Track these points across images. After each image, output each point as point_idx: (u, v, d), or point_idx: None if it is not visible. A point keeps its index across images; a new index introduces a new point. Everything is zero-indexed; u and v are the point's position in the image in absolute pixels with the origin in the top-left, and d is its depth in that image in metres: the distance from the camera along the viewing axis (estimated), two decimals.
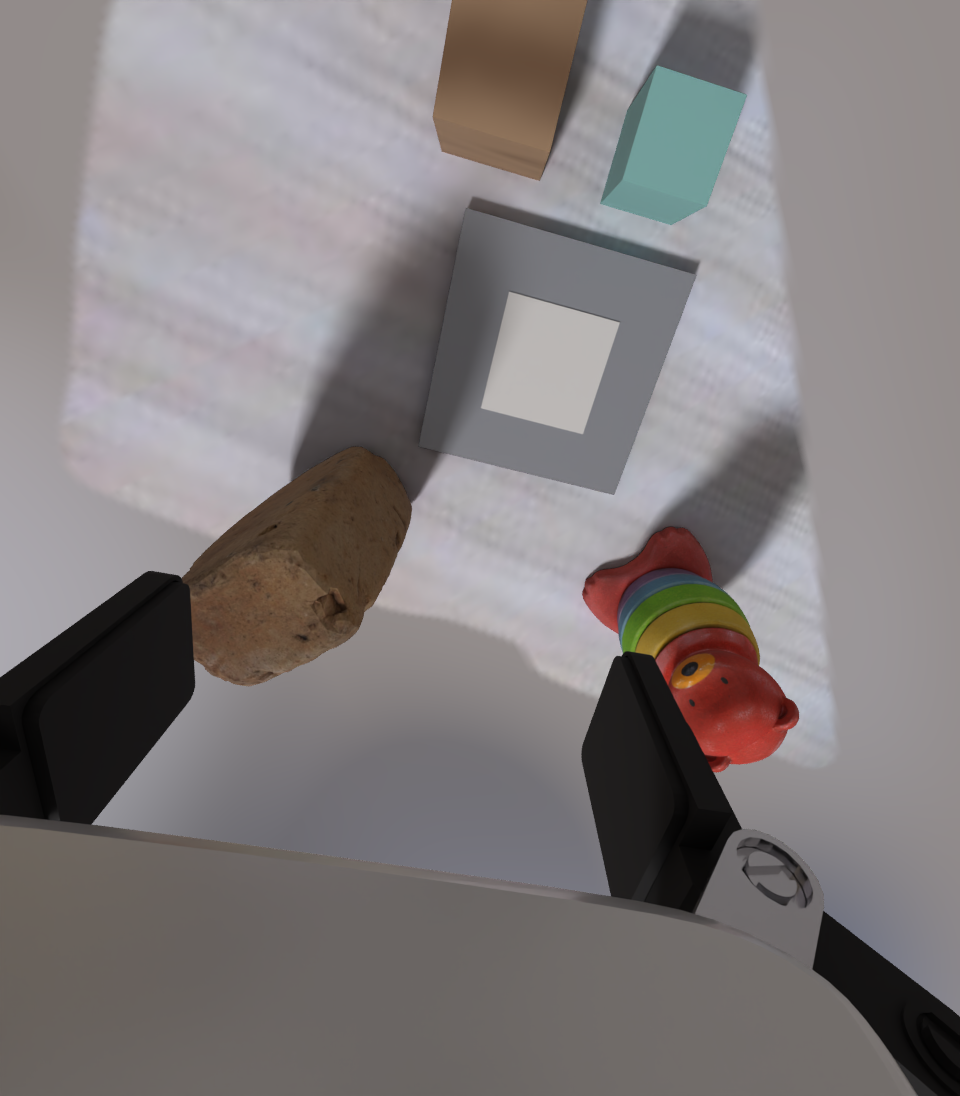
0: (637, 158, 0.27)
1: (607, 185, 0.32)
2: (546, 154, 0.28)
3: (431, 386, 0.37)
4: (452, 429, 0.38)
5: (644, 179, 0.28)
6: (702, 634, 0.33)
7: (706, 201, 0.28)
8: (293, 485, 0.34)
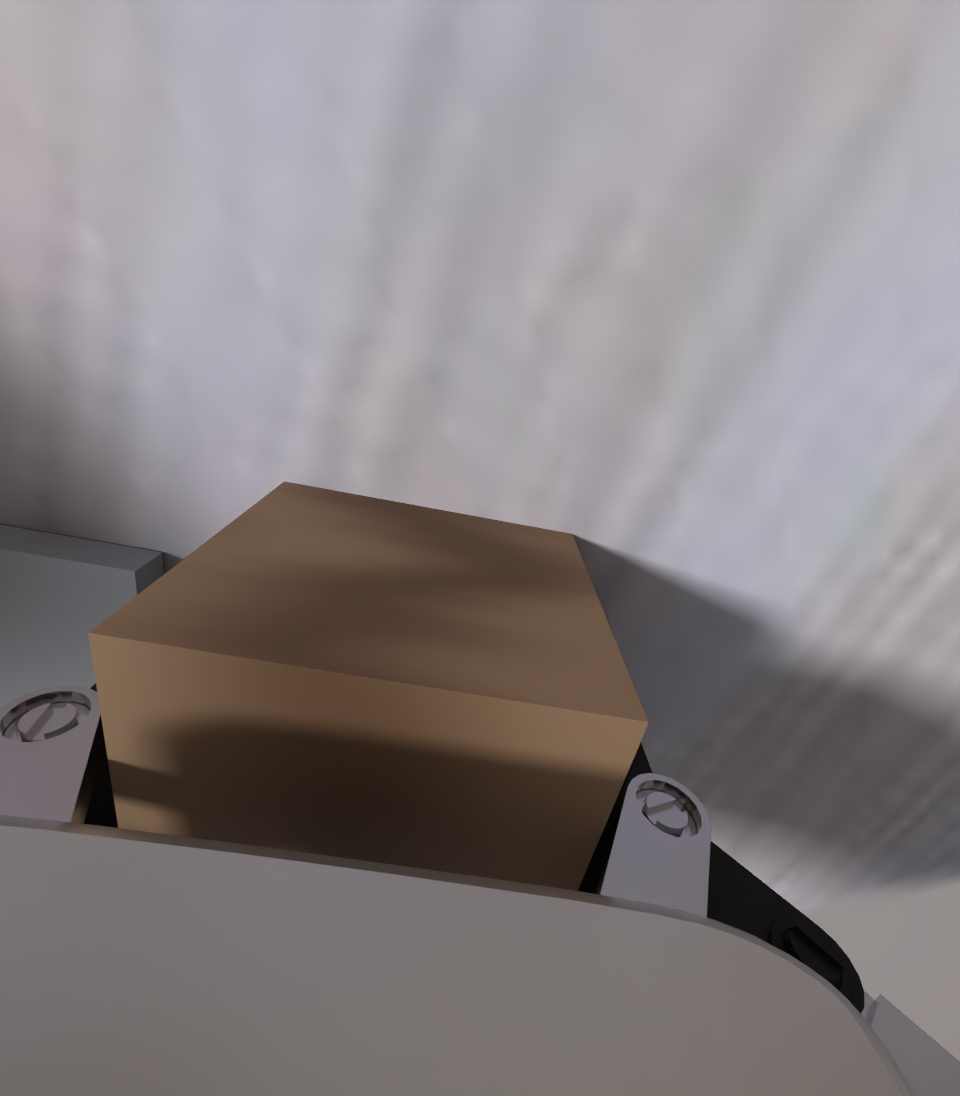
0: None
1: None
2: None
3: None
4: None
5: None
6: None
7: None
8: None
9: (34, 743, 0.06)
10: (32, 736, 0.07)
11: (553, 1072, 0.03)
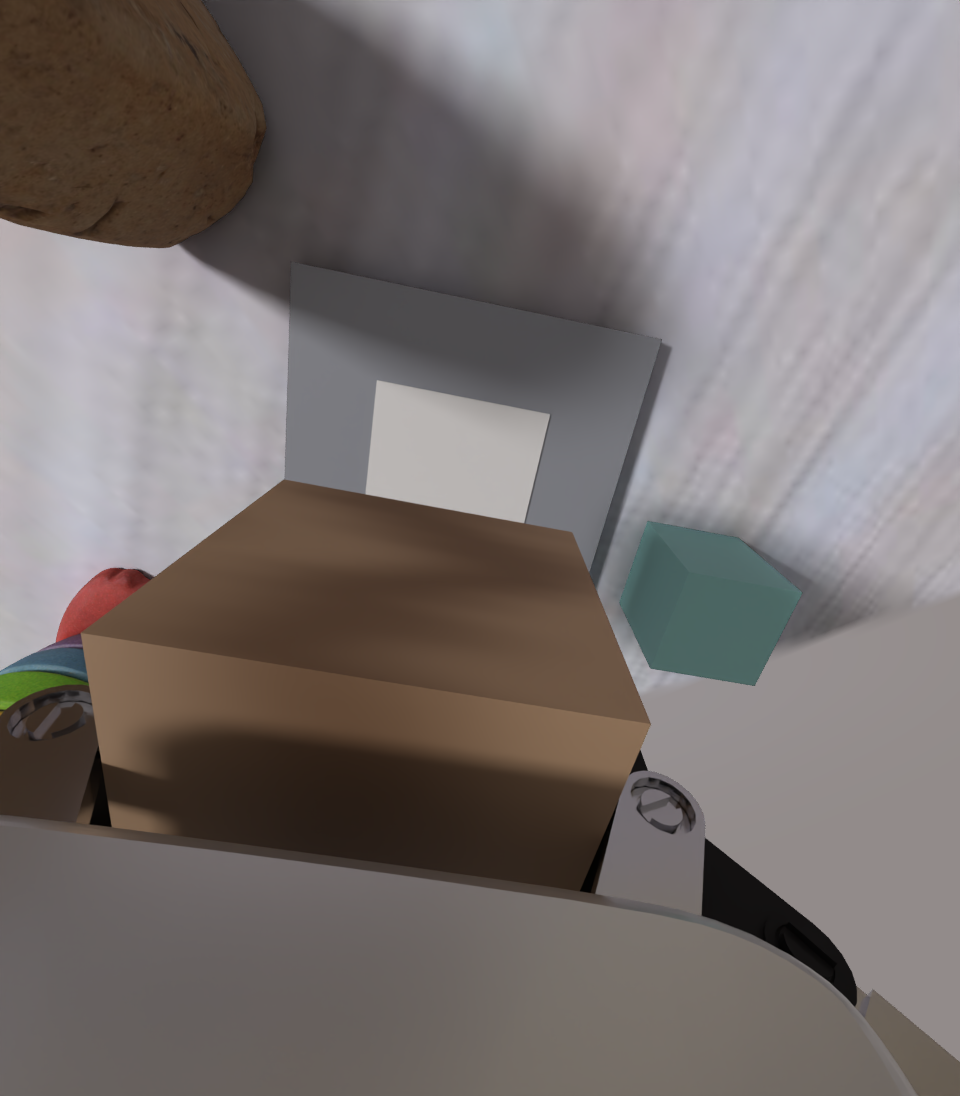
0: (710, 586, 0.21)
1: (668, 530, 0.25)
2: None
3: (401, 287, 0.21)
4: (334, 329, 0.22)
5: (686, 597, 0.21)
6: None
7: (655, 667, 0.23)
8: None
9: (41, 742, 0.06)
10: (39, 735, 0.07)
11: (553, 1073, 0.03)
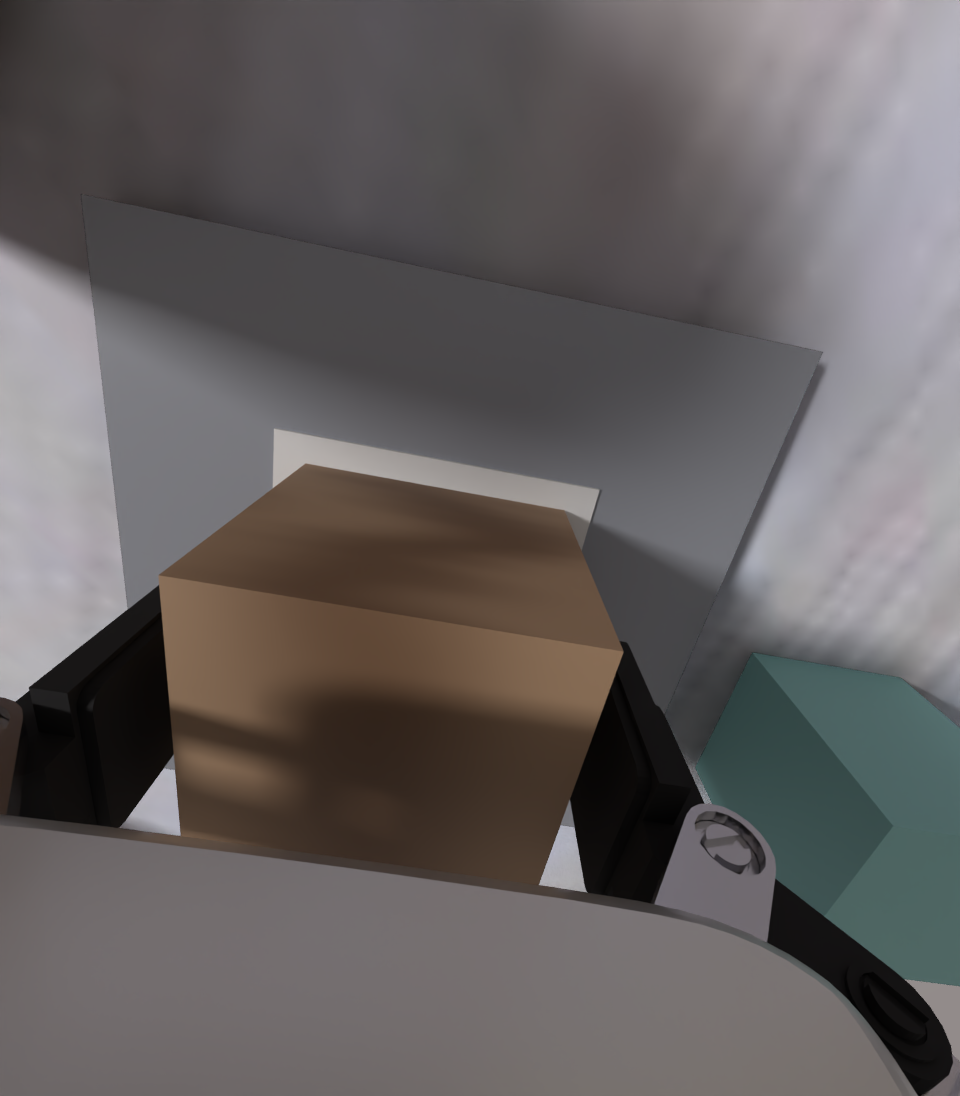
0: (931, 848, 0.11)
1: (794, 675, 0.15)
2: None
3: (309, 247, 0.10)
4: (184, 333, 0.11)
5: (879, 865, 0.11)
6: None
7: None
8: None
9: None
10: None
11: (553, 1072, 0.03)
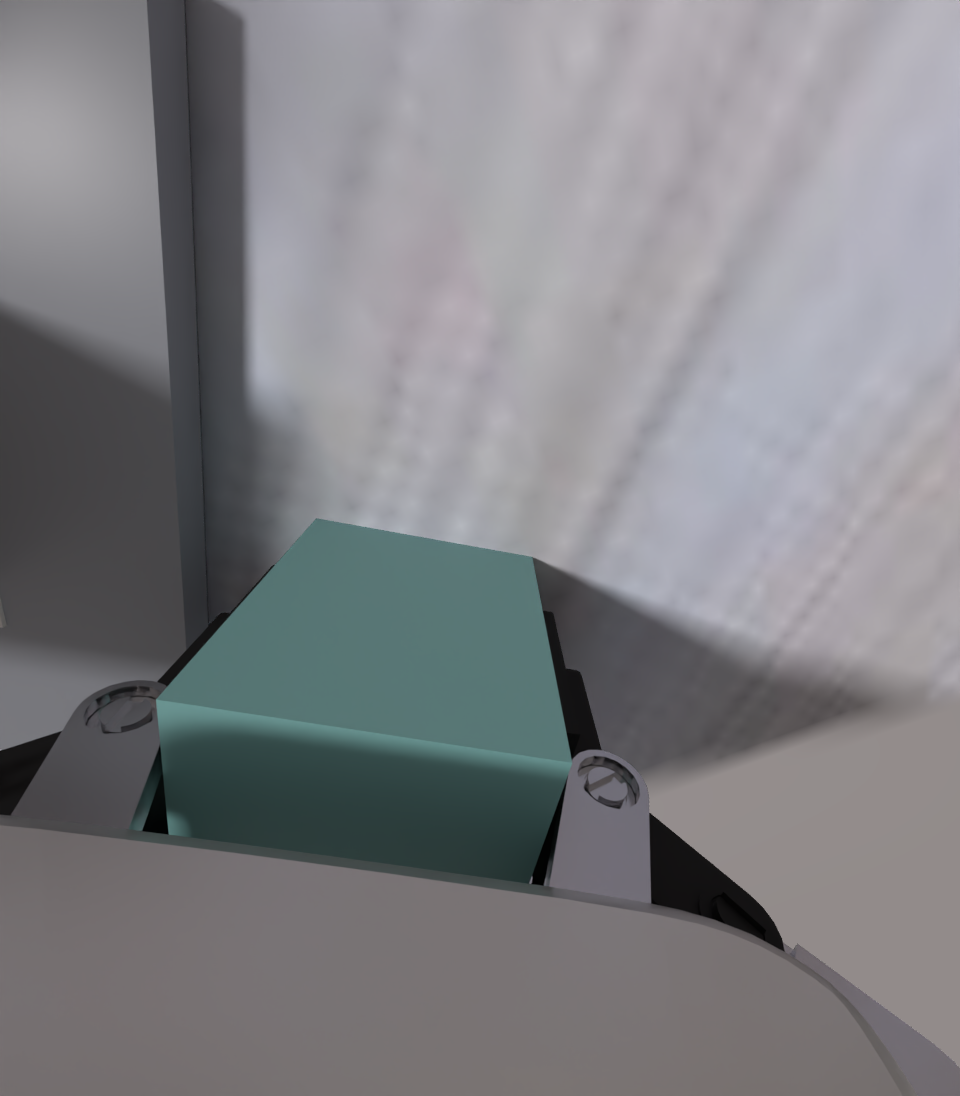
0: (252, 743, 0.06)
1: (341, 541, 0.10)
2: None
3: None
4: None
5: (188, 775, 0.06)
6: None
7: None
8: None
9: (111, 735, 0.07)
10: (111, 727, 0.07)
11: (553, 1072, 0.03)
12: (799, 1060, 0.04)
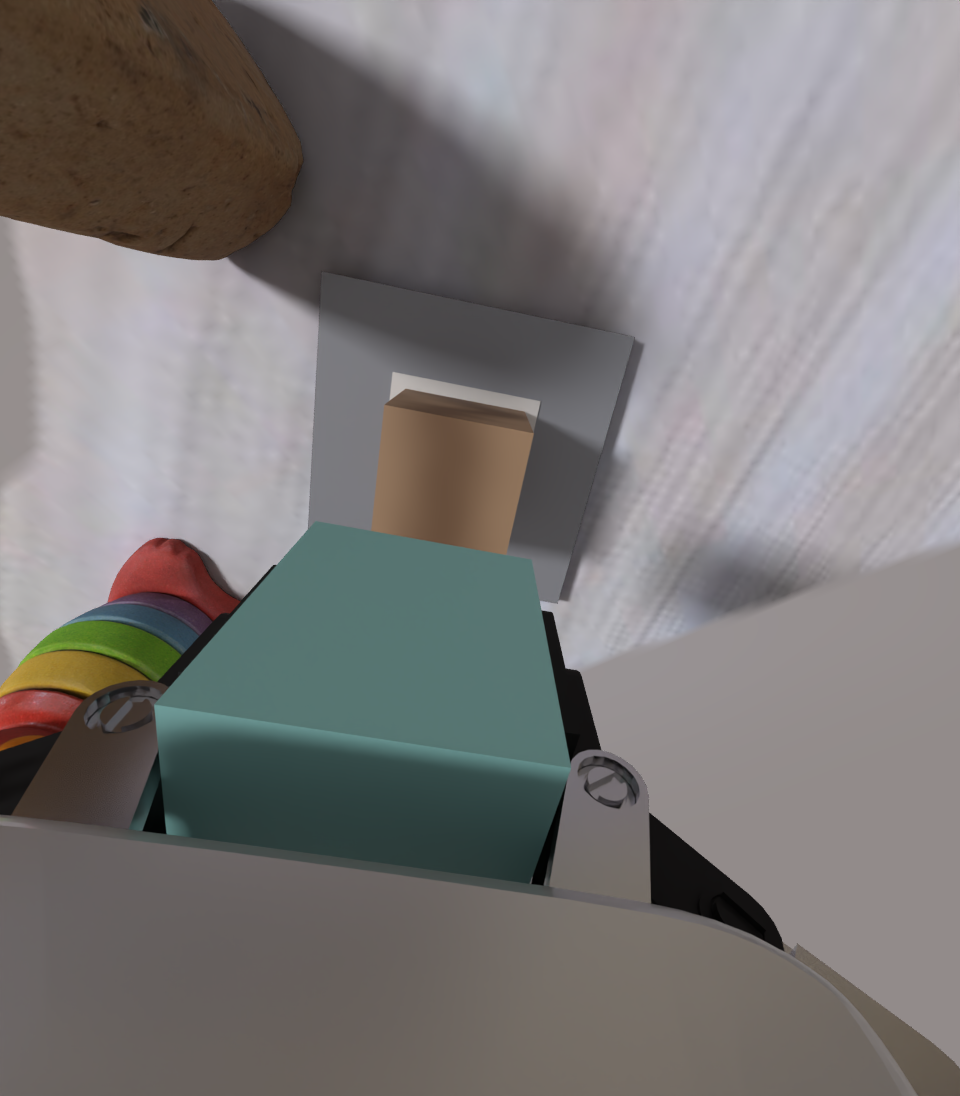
0: (250, 748, 0.06)
1: (340, 544, 0.10)
2: None
3: (414, 292, 0.25)
4: (357, 328, 0.26)
5: (187, 780, 0.06)
6: None
7: None
8: None
9: (111, 735, 0.07)
10: (111, 727, 0.07)
11: (553, 1073, 0.03)
12: (799, 1061, 0.04)
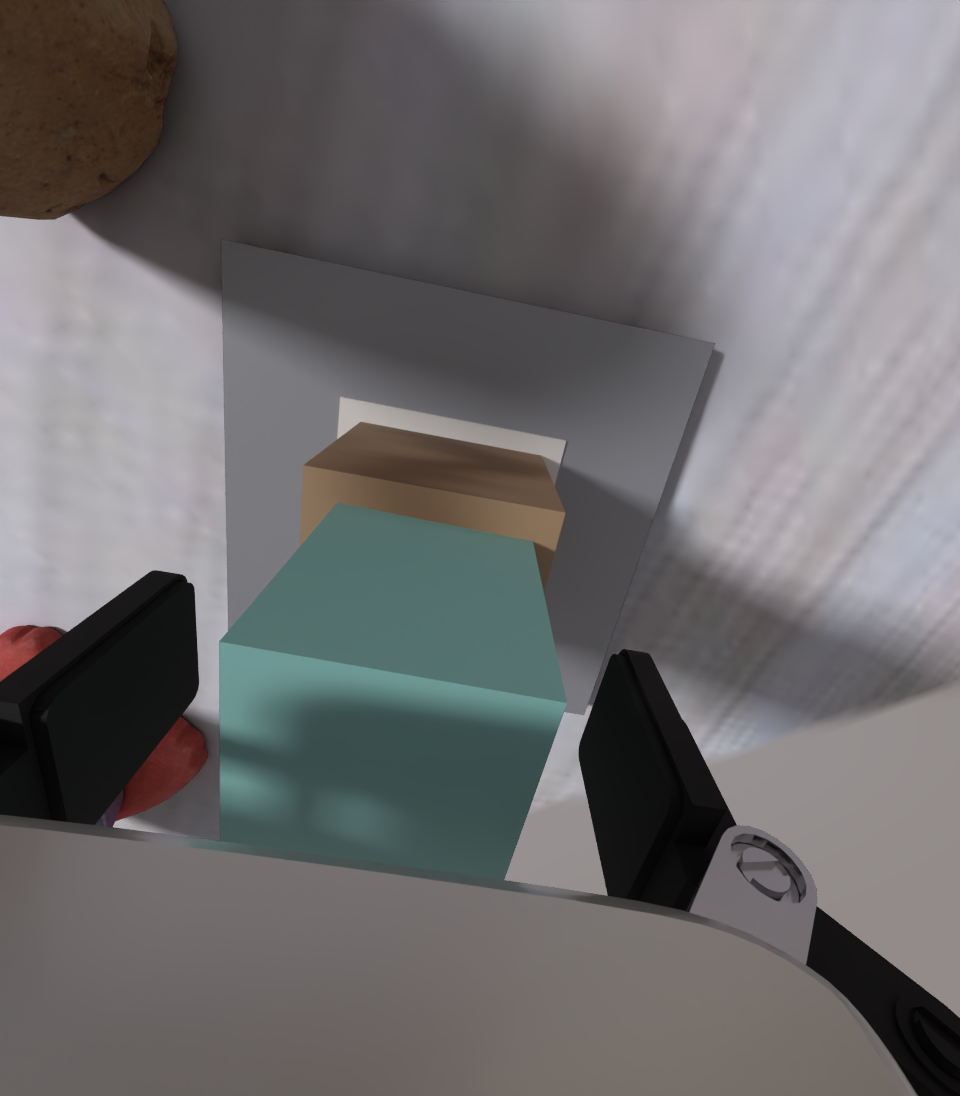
0: (298, 681, 0.07)
1: (361, 522, 0.12)
2: None
3: (369, 273, 0.16)
4: (282, 330, 0.16)
5: (241, 710, 0.07)
6: None
7: None
8: None
9: None
10: None
11: (553, 1073, 0.03)
12: (799, 1060, 0.04)
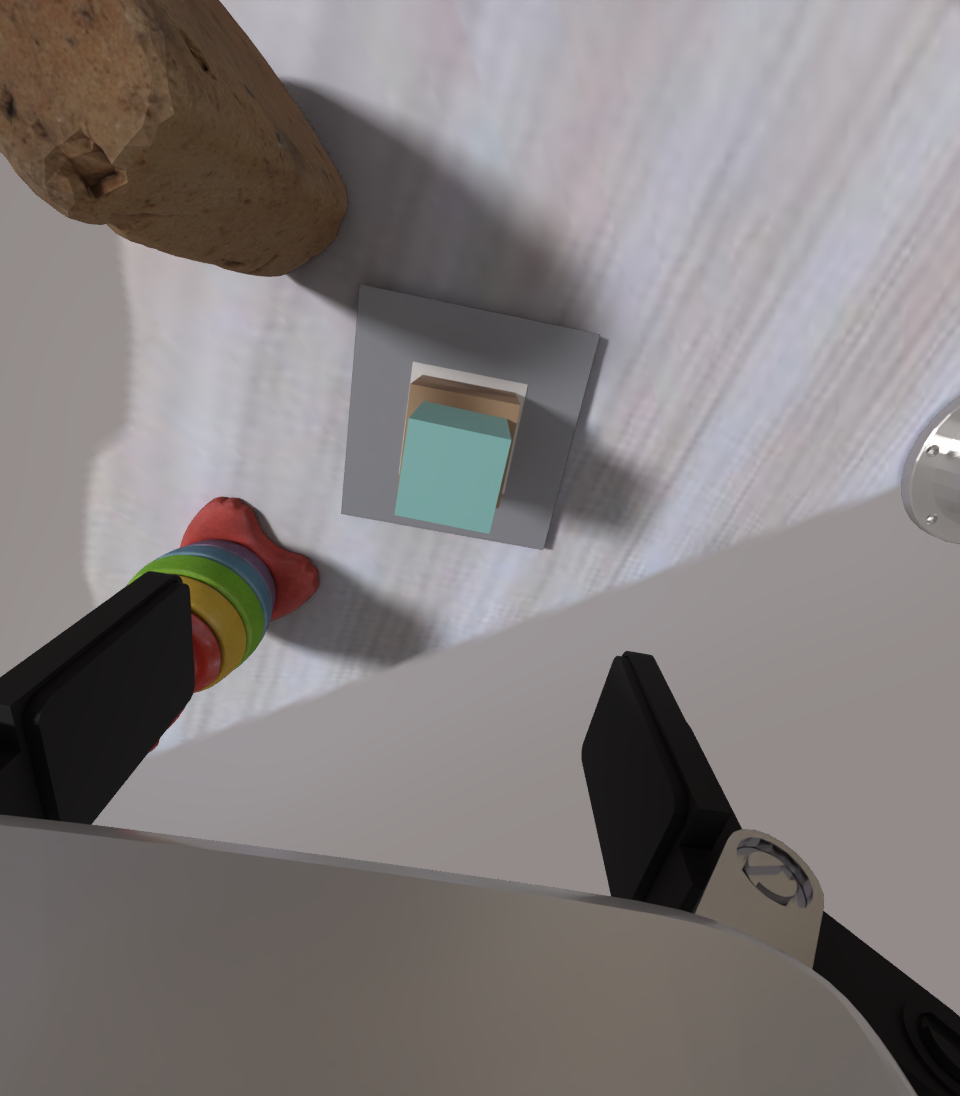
0: (430, 432, 0.24)
1: (435, 406, 0.28)
2: None
3: (430, 300, 0.33)
4: (385, 328, 0.33)
5: (411, 443, 0.24)
6: (207, 638, 0.31)
7: (398, 513, 0.26)
8: (277, 90, 0.24)
9: None
10: None
11: (553, 1073, 0.03)
12: (799, 1060, 0.04)
